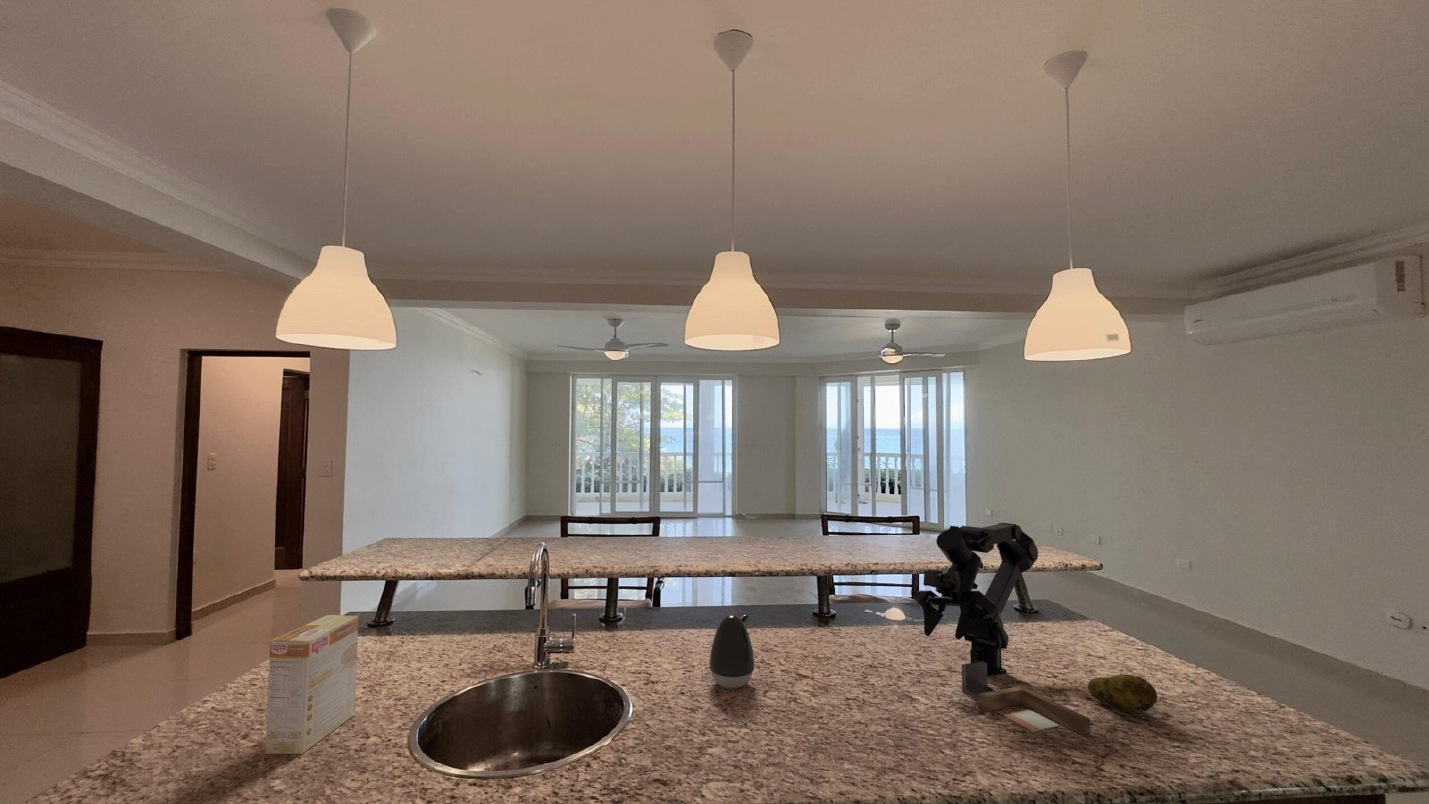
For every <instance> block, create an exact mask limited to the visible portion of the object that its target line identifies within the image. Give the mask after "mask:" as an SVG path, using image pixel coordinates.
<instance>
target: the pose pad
mask: <svg viewBox="0 0 1429 804" xmlns="http://www.w3.org/2000/svg"><path fill="white" fill-rule="evenodd" d="M1002 717H1005V718H1006V719H1008V720H1009V721H1011V722H1013V723H1015V724H1017V725H1019V726H1020V727H1022V728H1024V729H1026V730H1027V731H1029V732H1031V733H1035V732H1040V731H1043V730H1048V729H1053V728H1057V727H1060V725H1059V723H1057V722H1055V721H1053V720H1051V719H1049V718H1047V717H1045V716H1044V715H1042V714H1040V713H1038V712H1037V713H1036V711H1034V710H1032V709H1030V708H1028V709H1025V710H1019V711H1014V712H1010V713H1004V714H1002Z"/></svg>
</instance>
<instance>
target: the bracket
mask: <svg viewBox="0 0 1429 804" xmlns="http://www.w3.org/2000/svg"><path fill="white" fill-rule="evenodd" d="M992 691H997V689H996V690H995V688H992V687H990V686H989V685H988V675H987V663H986V662H984V661H981V662H975V663H971V662H968V663H963V664H961V693H962V694H964V695H966V694H967V695H966V696H968V695H969V696H968V697H970V696H971V697H972V698H971V697H970V698H971V699H973V698H974V699H973V700H975V699H976V700H975V701H977V702H978V700H977V694H981V693H986V692H992Z"/></svg>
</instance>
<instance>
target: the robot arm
mask: <svg viewBox="0 0 1429 804" xmlns="http://www.w3.org/2000/svg"><path fill="white" fill-rule="evenodd" d="M995 545H996V548H997V549H998V551H999V557H1000V558H1001V559H1000V560H1001V561H1000V565H999V566H998V568H997V570H996V573H995V574H994V576H993V578H992V580H991V582H990V585H989V586H988V588H987V591H986V592H985V594H983V593H982V592H981V591H980V590H977V589H978V587H979V585H978V584H977V583H976V582H975V581H976V579H977V575H978V573H979V569H982V570H983V569H984V563H983V561H982V559H981V556H979V554H977V553H984V554H988V553H990V552H991V551H992V550H994V549H995ZM936 546H937V547H938V548H939V549H940V551H941V552H942V554H943V556H945V558H946V559H947V561H949V563H951V565H950V567H944V568H943V569H942V570H937V569H935V570H924V571H923V583H922V584H923V586H925V587H926V586H928V587H931V588H935V591H936V593H935V592H934V591H933V590H930V589H929V590H926V589H925V590H918V591H917V592H916V594H915V597H914V600H915V601H916V602H917V604H918V605H919V606H921V609H922V613H923V633H924V635H925V636H926V637H930V635H931V634H932V633H933V632H934V630H935V629H936V627H937V625H938V624H939V622H940V621H941V620H942V618H943V617H944V614H943V613H944V612H945V610H946V607H959V611H960V614H959V616H958V620H957V625H956V629H955V632H954V633H955V634H954V637H955V639H956V640H961V639H962V638H963V637H964V641H966V642H970V643H971V645H970V647H971V649H970V655H969V656H970V663H975V662H981V661H984V662H986V663H987V676H991V675H997V674H1005V673H1007V672H1008V670H1007V669H1006V668H1004V667H1002V650H1007V649H1008V647H1009V642H1010V641H1009V637H1010V636H1009V635H1008V633H1007V631H1006V629H1005V628H1004V626H1005V625H1004V622H1003V619H1002V613H1003V610H1004V608H1005V606H1006V604H1007V602H1008V600H1009V598H1010V596H1011V594H1012V591H1014V590H1013V589H1014V587H1015V586H1016V584H1017V581H1018V579H1019V578H1020V575H1021V574H1023V573H1025V572H1027V571H1028V570H1031V568H1032V567H1033V565H1034V564H1035V562H1036V561H1037V560H1038V557H1039V549H1038V547H1037V545H1036V544H1035V541H1034V539H1033V538H1032V537H1030V536H1029V535H1028V534H1027V533H1026V532H1024V531H1023V529H1022V528H1021V526H1020V525H1018V524H1016V523H1010V522H1009V523H1008V522H999V523H997V524H992V525H989V526H983V527H980V526H979V527H978V526H970V525H961V526H957V525H950V526H949V528H948V529H946V530H943V531H942V532H941V533H939V535H937V537H936ZM937 593H938V594H941V596H939V595H938V594H937Z"/></svg>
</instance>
